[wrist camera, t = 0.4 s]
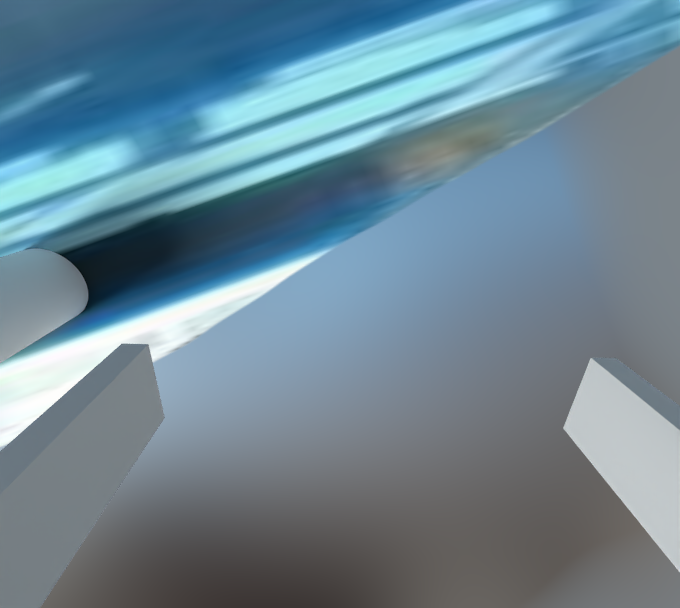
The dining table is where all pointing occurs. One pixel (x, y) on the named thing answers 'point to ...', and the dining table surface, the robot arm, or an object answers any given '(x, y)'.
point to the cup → (36, 297)
